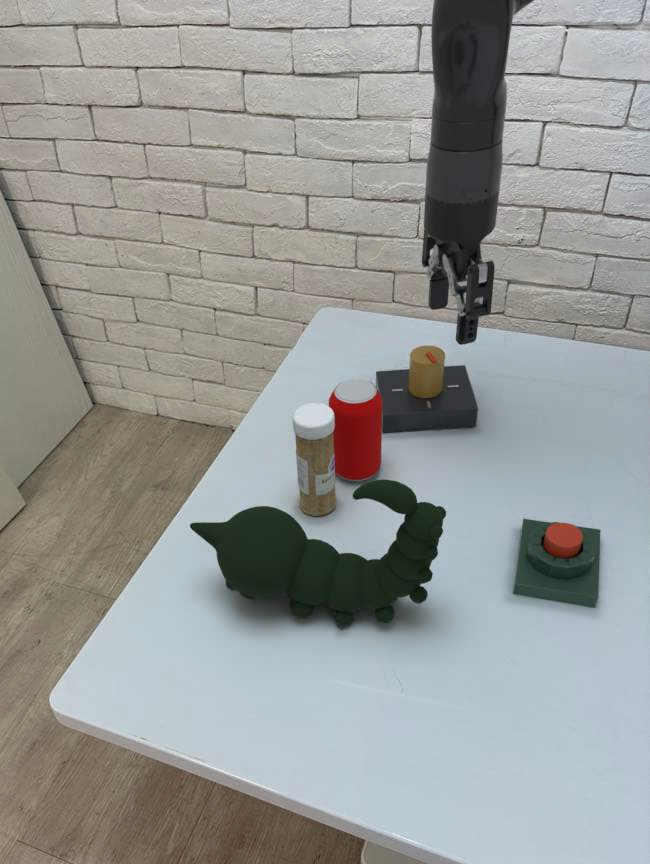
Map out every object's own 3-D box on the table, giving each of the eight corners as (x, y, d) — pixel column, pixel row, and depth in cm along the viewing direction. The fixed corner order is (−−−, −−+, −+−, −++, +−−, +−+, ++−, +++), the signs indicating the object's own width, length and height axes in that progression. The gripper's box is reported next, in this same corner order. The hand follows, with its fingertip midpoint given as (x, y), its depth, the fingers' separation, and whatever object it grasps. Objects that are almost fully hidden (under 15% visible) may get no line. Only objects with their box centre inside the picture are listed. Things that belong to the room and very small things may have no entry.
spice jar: (336, 517, 94) (334, 425, 85) (297, 517, 95) (291, 426, 86) (336, 491, 98) (334, 400, 88) (299, 491, 98) (293, 401, 89)
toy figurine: (425, 593, 87) (207, 547, 92) (457, 460, 73) (199, 415, 78) (413, 662, 81) (180, 609, 86) (445, 531, 67) (165, 477, 72)
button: (544, 531, 85) (547, 519, 84) (580, 537, 84) (583, 525, 83) (542, 555, 83) (544, 543, 82) (579, 561, 82) (582, 549, 80)
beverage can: (379, 486, 97) (381, 405, 89) (328, 485, 99) (325, 405, 90) (381, 454, 102) (383, 374, 93) (332, 453, 103) (330, 374, 94)
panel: (462, 383, 111) (465, 363, 108) (475, 427, 104) (478, 407, 101) (375, 389, 112) (375, 370, 109) (382, 433, 105) (383, 413, 102)
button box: (521, 529, 90) (525, 506, 88) (597, 540, 88) (604, 517, 85) (512, 594, 84) (517, 572, 81) (594, 608, 81) (602, 585, 79)
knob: (402, 383, 107) (404, 348, 103) (433, 376, 107) (436, 340, 103) (416, 401, 104) (419, 365, 100) (448, 393, 104) (451, 357, 100)
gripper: (527, 203, 78) (507, 348, 90) (469, 155, 88) (457, 290, 100) (454, 218, 78) (443, 361, 89) (404, 168, 88) (400, 302, 99)
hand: (451, 324), depth 95 cm, fingers open, 8 cm apart
